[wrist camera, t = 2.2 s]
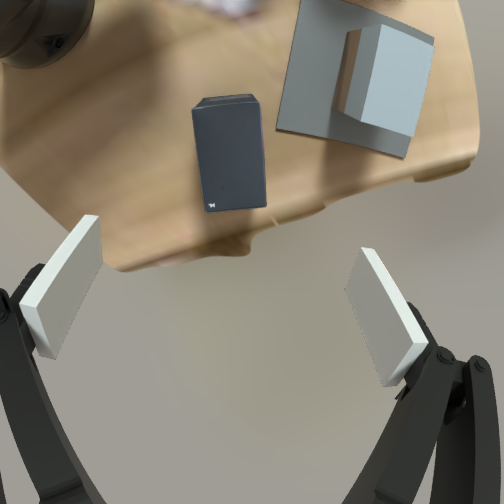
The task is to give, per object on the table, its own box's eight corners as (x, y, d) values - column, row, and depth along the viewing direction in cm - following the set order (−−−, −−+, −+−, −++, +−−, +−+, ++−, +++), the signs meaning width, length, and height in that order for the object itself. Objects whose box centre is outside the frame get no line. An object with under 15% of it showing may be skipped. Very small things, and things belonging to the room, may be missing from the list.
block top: (343, 113, 31) (360, 121, 27) (362, 28, 26) (381, 23, 21) (391, 126, 32) (413, 137, 27) (410, 46, 26) (434, 46, 22)
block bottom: (331, 107, 35) (343, 113, 31) (346, 31, 30) (362, 28, 26) (374, 118, 36) (391, 126, 32) (391, 47, 31) (410, 46, 26)
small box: (261, 175, 40) (269, 210, 31) (210, 179, 40) (202, 216, 31) (255, 92, 34) (263, 101, 26) (200, 97, 34) (187, 108, 26)
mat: (275, 127, 37) (276, 128, 36) (302, -9, 27) (303, -10, 27) (403, 157, 39) (405, 158, 39) (432, 37, 30) (434, 37, 29)
